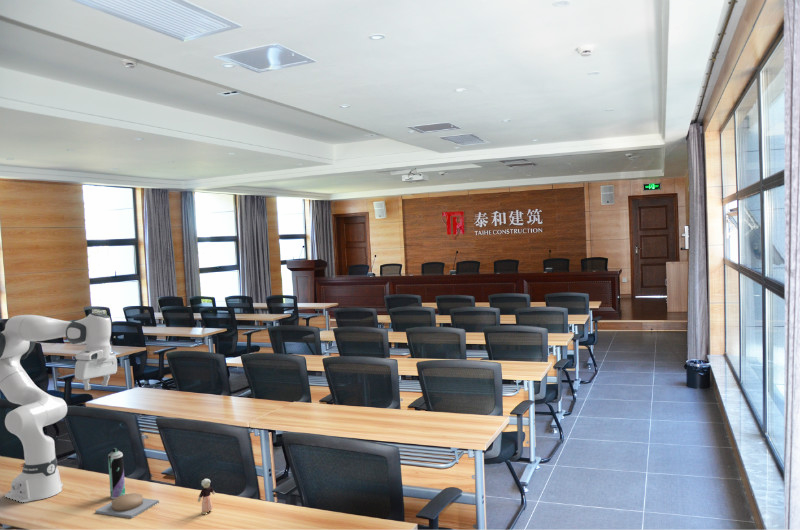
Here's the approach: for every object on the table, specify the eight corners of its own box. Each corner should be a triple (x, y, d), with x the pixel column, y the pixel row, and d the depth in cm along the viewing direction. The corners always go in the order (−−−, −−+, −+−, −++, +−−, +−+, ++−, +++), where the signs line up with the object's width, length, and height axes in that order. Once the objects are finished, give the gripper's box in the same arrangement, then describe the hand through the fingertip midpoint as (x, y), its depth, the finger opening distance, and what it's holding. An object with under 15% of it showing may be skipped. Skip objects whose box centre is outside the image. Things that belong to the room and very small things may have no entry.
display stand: (95, 513, 231) (94, 504, 231) (123, 498, 244) (123, 489, 244) (132, 518, 225) (131, 509, 225) (159, 502, 238) (158, 494, 238)
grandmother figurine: (205, 516, 223) (203, 482, 223) (197, 515, 225) (195, 482, 224) (218, 507, 231) (216, 475, 230) (210, 506, 232) (208, 474, 232)
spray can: (119, 499, 243) (116, 450, 243) (107, 498, 245) (104, 450, 244) (128, 493, 249) (125, 446, 248) (116, 493, 250) (113, 445, 249)
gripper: (108, 350, 253) (107, 383, 253) (72, 355, 233) (70, 391, 233) (122, 351, 252) (120, 384, 251) (86, 356, 232) (84, 392, 231)
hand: (96, 388), depth 242 cm, fingers open, 8 cm apart
